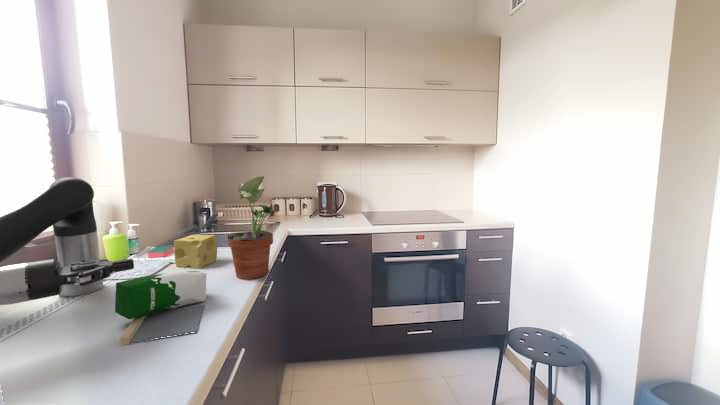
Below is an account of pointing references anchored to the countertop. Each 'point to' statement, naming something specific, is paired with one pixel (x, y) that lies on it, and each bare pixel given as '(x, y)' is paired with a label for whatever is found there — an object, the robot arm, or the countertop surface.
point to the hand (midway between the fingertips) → (133, 263)
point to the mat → (163, 324)
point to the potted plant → (252, 238)
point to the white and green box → (159, 293)
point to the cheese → (195, 251)
